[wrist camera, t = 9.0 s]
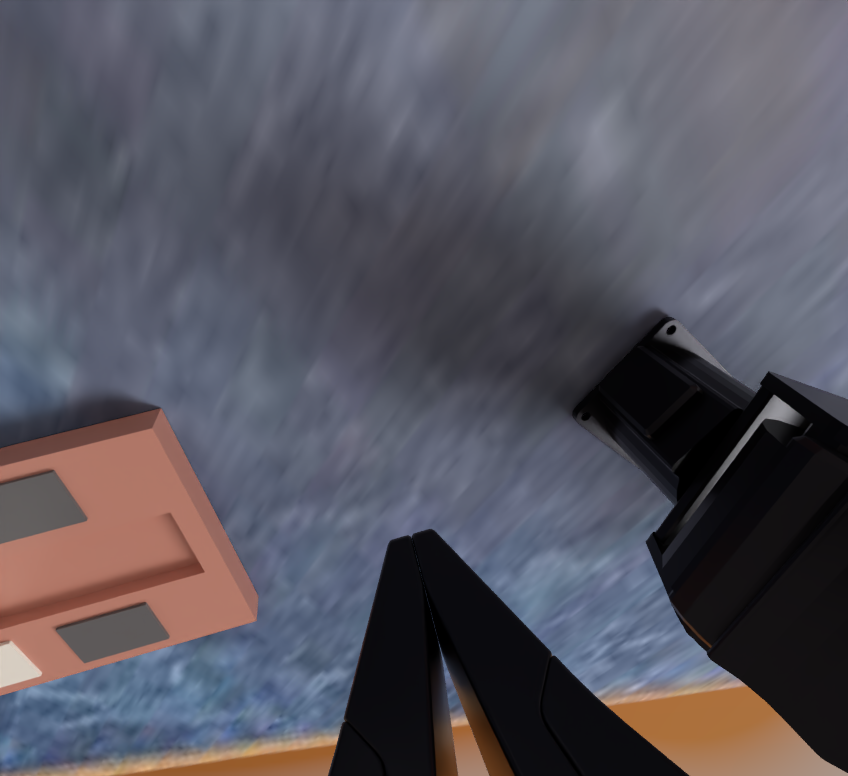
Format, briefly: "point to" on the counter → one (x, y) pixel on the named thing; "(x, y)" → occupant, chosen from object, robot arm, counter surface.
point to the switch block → (108, 551)
